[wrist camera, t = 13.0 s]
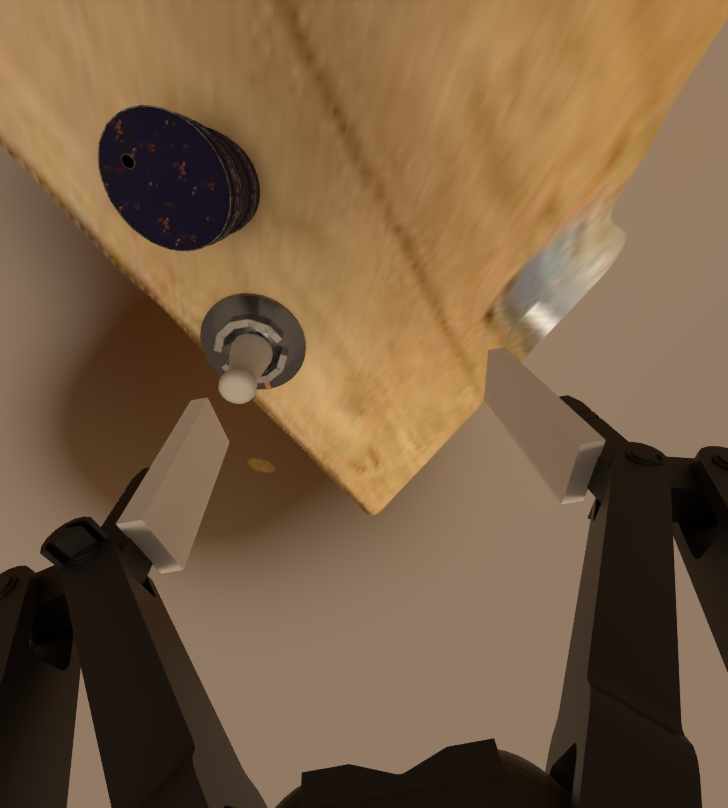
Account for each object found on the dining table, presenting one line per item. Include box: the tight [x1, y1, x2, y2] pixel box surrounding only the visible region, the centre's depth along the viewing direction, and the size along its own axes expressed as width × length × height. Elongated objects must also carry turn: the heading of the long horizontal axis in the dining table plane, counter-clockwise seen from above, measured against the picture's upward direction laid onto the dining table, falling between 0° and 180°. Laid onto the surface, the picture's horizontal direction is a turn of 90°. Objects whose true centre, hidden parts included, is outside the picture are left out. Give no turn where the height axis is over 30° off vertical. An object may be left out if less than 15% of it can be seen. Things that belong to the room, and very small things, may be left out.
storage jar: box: [98, 105, 260, 251], centre depth 32 cm, size 10×10×15 cm
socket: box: [200, 294, 306, 389], centre depth 48 cm, size 15×15×3 cm
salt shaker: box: [219, 333, 273, 404], centre depth 44 cm, size 6×6×13 cm
